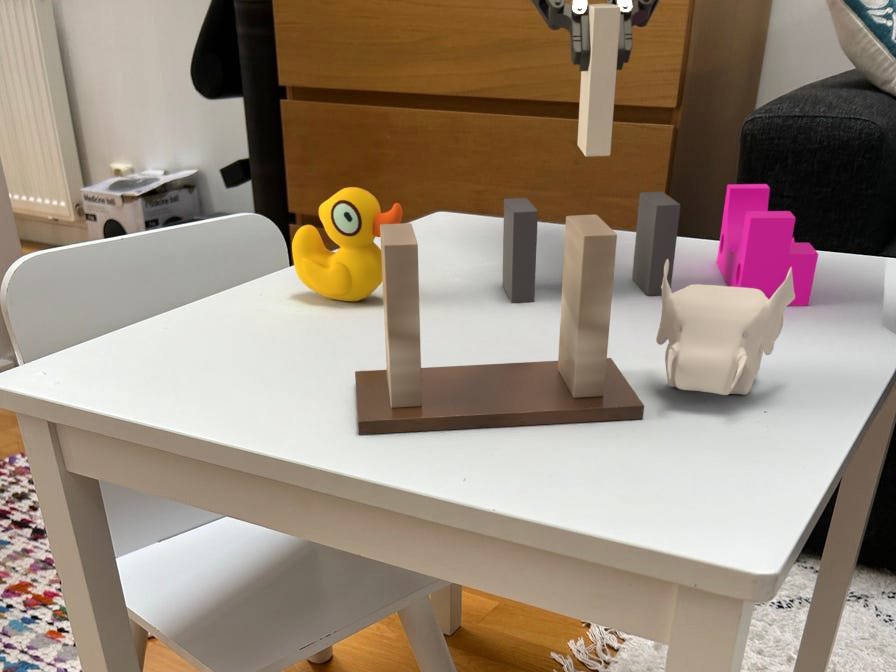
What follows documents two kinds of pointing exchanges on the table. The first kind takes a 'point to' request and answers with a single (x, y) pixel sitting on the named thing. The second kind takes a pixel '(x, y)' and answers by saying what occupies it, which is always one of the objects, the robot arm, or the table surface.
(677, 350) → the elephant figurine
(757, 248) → the toy block
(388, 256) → the book rack
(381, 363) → the table surface
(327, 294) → the duckling
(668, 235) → the dark grey upright posts
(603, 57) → the beige rectangular block
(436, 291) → the table surface
